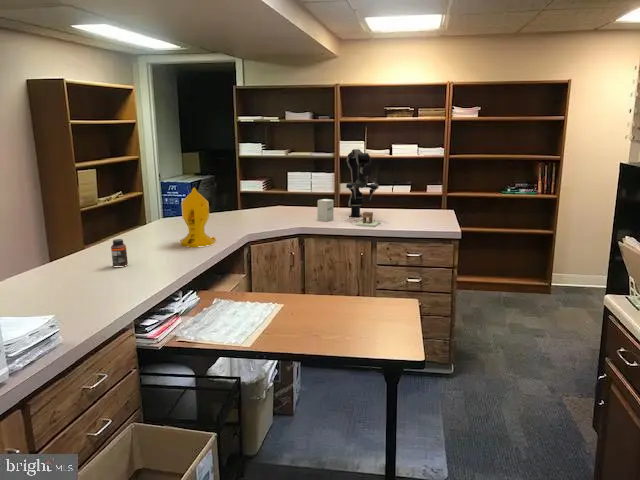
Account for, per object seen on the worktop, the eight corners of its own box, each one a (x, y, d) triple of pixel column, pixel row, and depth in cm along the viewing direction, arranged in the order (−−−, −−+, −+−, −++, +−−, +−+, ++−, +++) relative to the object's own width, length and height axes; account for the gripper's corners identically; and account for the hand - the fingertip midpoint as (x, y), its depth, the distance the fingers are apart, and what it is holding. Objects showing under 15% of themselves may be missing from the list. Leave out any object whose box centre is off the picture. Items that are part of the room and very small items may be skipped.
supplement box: (326, 221, 316) (326, 201, 313) (317, 220, 320) (317, 200, 317) (333, 219, 321) (333, 199, 319) (324, 218, 326) (324, 198, 323)
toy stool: (364, 221, 310) (364, 211, 309) (372, 222, 308) (372, 212, 307) (362, 223, 305) (362, 213, 304) (370, 223, 304) (370, 213, 303)
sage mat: (360, 221, 315) (360, 220, 314) (379, 223, 311) (379, 221, 311) (355, 225, 304) (355, 223, 303) (375, 226, 300) (375, 225, 300)
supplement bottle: (123, 263, 223) (120, 237, 221) (130, 265, 220) (128, 239, 217) (110, 266, 219) (107, 240, 216) (117, 268, 215) (115, 242, 213)
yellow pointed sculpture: (204, 237, 274) (202, 184, 268) (224, 245, 255) (222, 188, 248) (172, 241, 264) (168, 186, 258) (190, 250, 245) (187, 191, 239)
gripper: (343, 175, 306) (343, 201, 310) (374, 176, 300) (374, 203, 304) (349, 173, 317) (348, 198, 320) (379, 174, 311) (378, 200, 314)
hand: (362, 200), depth 314 cm, fingers open, 9 cm apart
